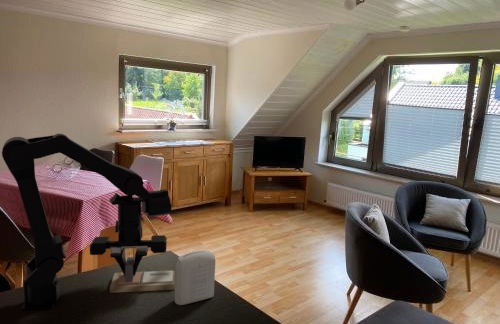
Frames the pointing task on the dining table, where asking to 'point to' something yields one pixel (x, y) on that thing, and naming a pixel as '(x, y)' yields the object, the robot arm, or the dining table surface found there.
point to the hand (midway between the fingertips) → (130, 275)
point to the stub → (129, 273)
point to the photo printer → (194, 277)
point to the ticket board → (146, 282)
